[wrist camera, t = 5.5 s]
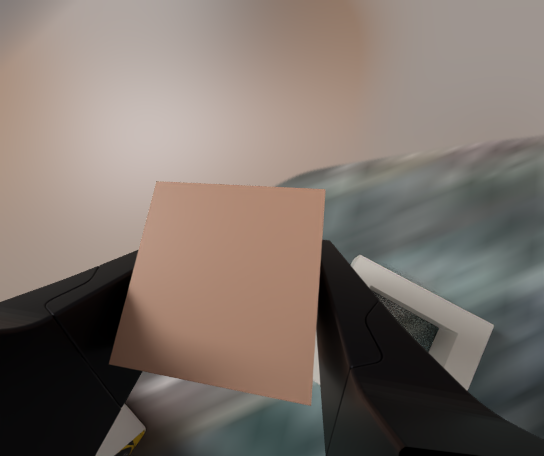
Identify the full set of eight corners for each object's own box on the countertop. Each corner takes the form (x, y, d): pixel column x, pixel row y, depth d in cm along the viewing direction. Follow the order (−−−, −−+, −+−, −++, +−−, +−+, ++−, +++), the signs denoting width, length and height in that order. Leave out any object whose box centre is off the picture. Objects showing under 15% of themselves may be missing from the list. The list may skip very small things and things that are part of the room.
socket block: (418, 442, 17) (436, 467, 15) (300, 360, 20) (299, 370, 17) (470, 320, 19) (494, 325, 16) (354, 258, 21) (359, 254, 19)
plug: (308, 327, 14) (310, 405, 4) (237, 316, 15) (108, 364, 5) (314, 250, 15) (325, 181, 6) (247, 244, 16) (158, 174, 6)
